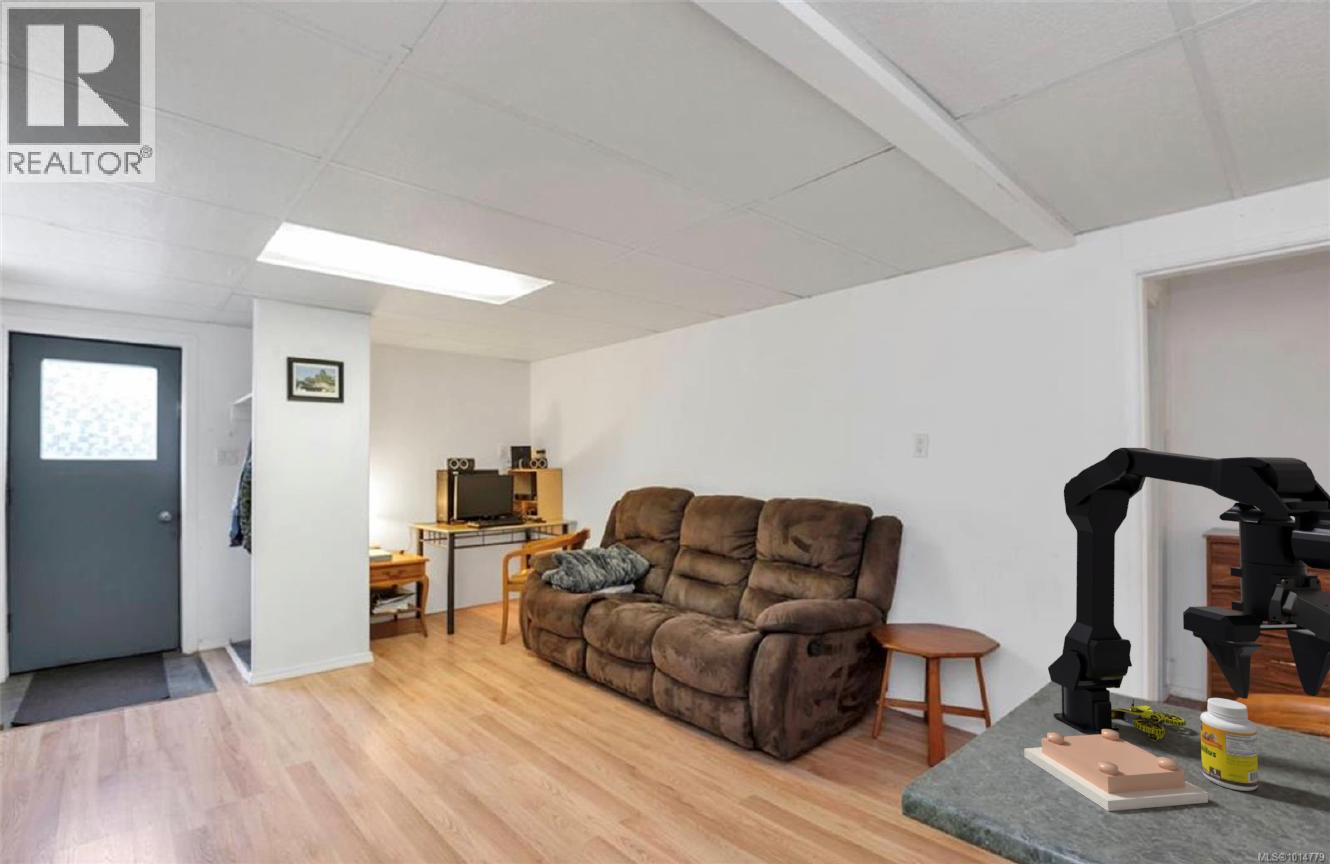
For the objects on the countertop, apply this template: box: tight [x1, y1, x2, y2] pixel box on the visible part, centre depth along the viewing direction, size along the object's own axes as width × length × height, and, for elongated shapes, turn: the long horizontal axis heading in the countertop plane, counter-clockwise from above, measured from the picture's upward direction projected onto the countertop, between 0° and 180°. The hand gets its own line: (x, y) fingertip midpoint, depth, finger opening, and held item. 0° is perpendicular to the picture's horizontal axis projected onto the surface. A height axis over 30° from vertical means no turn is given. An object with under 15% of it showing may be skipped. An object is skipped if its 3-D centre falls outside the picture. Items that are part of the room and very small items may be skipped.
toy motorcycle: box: [1112, 698, 1187, 742], centre depth 99 cm, size 12×4×7 cm
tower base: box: [1024, 729, 1209, 812], centre depth 84 cm, size 14×14×4 cm
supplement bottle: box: [1199, 697, 1259, 792], centre depth 84 cm, size 6×6×10 cm
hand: (1276, 696), depth 75 cm, fingers open, 9 cm apart
